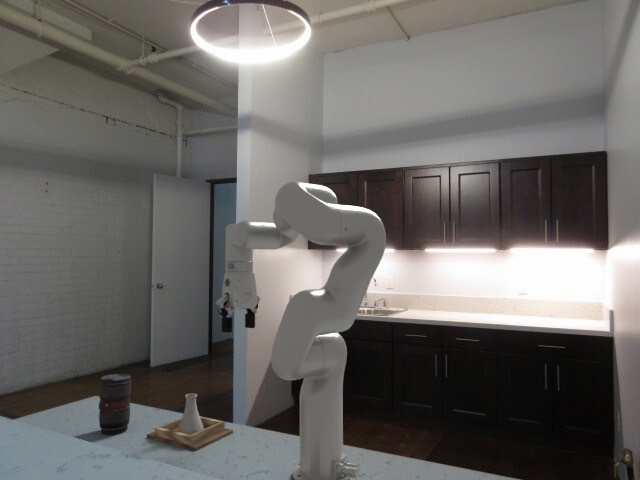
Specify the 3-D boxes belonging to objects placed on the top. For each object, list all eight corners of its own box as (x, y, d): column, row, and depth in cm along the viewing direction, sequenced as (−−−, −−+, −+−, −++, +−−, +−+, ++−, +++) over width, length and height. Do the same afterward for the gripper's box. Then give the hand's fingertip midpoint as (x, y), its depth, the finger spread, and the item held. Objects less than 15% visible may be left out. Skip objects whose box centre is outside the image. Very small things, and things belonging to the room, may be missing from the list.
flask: (176, 438, 120) (176, 400, 121) (177, 429, 127) (177, 392, 128) (204, 435, 122) (205, 397, 123) (204, 426, 129) (204, 390, 130)
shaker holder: (232, 433, 126) (232, 422, 126) (195, 451, 114) (195, 439, 114) (185, 422, 135) (186, 412, 135) (146, 437, 123) (146, 427, 123)
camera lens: (118, 437, 123) (119, 380, 124) (92, 435, 125) (93, 379, 126) (136, 426, 131) (137, 373, 132) (111, 425, 133) (112, 372, 134)
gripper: (228, 268, 118) (228, 335, 117) (268, 267, 133) (268, 327, 132) (207, 268, 122) (206, 333, 121) (248, 267, 137) (248, 325, 136)
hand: (238, 329), depth 127 cm, fingers open, 9 cm apart
